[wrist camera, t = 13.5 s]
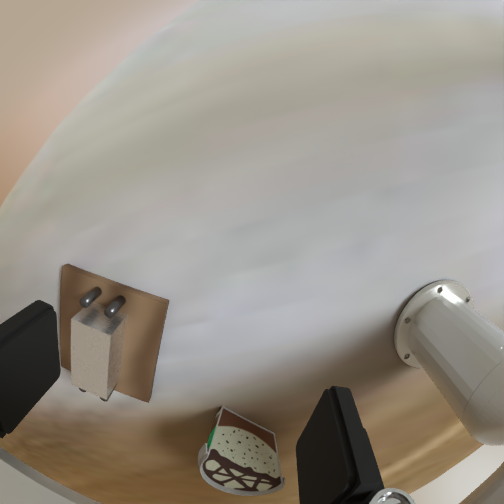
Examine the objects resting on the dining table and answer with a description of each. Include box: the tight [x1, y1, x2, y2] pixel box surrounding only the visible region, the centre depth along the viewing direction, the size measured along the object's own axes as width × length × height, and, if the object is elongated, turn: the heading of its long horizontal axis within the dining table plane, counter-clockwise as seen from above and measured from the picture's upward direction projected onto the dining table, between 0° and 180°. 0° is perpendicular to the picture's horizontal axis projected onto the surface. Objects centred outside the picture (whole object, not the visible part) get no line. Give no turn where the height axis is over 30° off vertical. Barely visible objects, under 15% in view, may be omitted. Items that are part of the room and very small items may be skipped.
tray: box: [60, 264, 169, 403], centre depth 35 cm, size 14×16×1 cm
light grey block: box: [71, 302, 128, 400], centre depth 32 cm, size 5×10×5 cm, turn 163°
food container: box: [198, 406, 285, 496], centre depth 35 cm, size 12×6×10 cm, turn 52°
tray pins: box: [79, 287, 126, 401], centre depth 33 cm, size 4×14×4 cm, turn 163°
